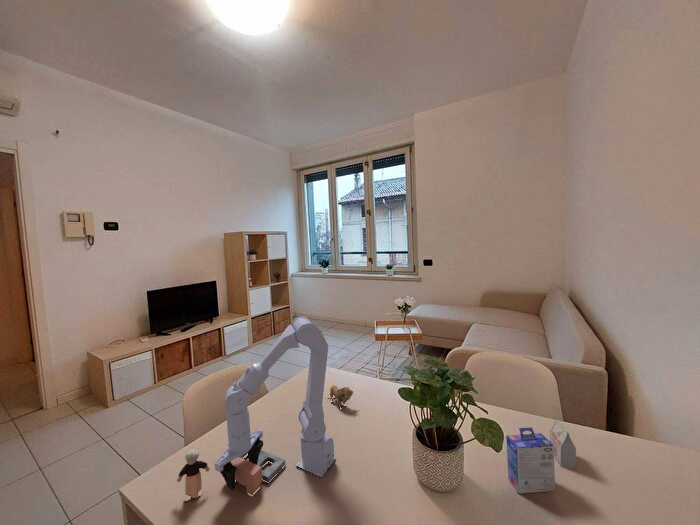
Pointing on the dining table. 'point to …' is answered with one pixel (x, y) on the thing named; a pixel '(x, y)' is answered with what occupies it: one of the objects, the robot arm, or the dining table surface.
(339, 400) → the lion figurine
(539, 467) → the ink cartridge box
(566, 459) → the white gable-top carton
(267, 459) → the slotted metal plate
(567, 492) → the dining table surface
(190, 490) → the grandmother figurine
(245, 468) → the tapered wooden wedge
